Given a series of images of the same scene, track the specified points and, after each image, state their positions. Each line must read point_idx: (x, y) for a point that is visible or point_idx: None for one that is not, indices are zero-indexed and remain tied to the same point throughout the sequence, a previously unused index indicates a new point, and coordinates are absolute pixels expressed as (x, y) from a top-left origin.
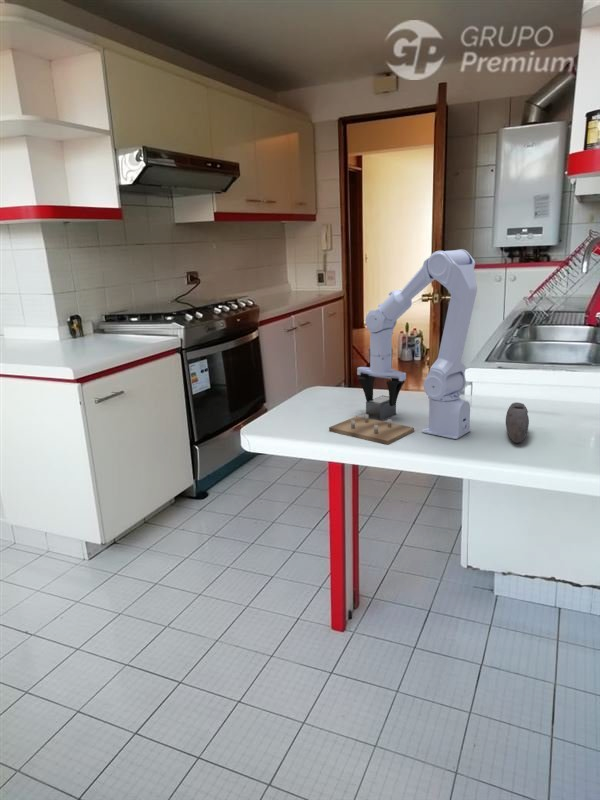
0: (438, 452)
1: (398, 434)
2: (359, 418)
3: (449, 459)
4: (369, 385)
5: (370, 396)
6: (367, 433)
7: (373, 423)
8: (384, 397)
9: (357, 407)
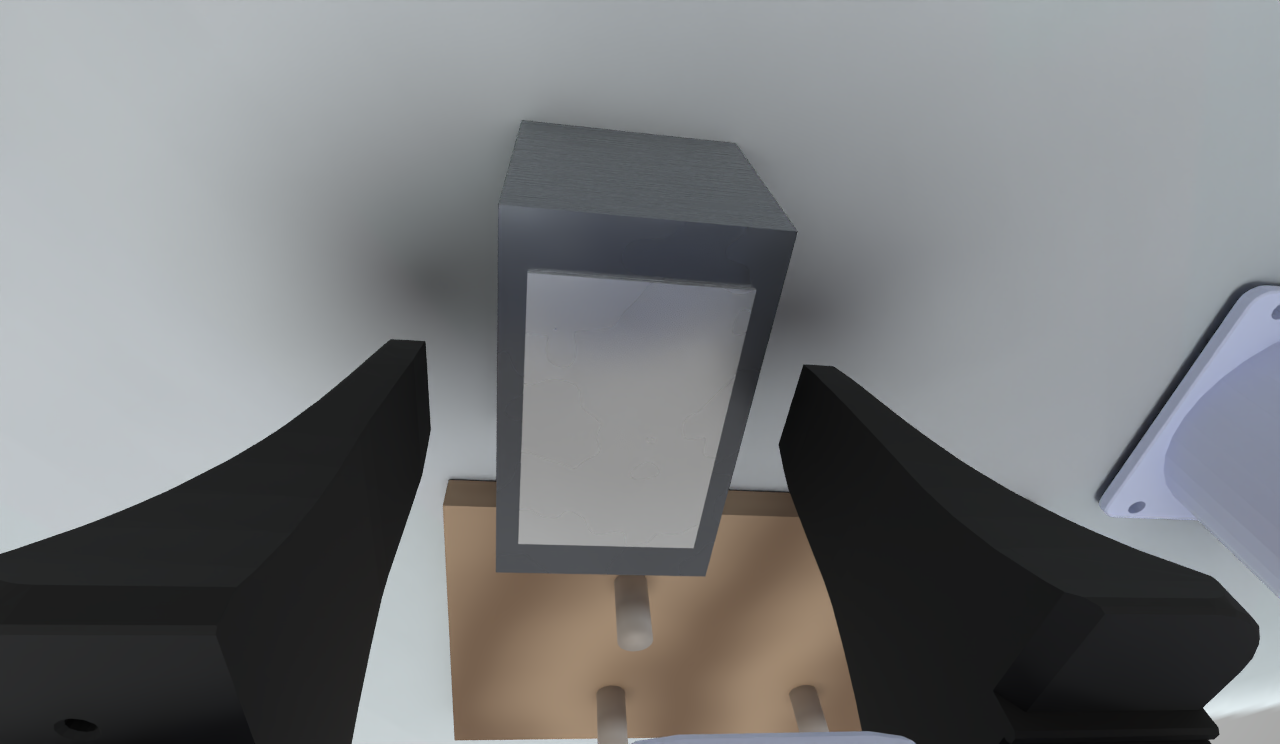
0: None
1: None
2: None
3: (1235, 708)
4: (350, 590)
5: (414, 430)
6: (752, 713)
7: (698, 581)
8: (616, 325)
9: (57, 80)
